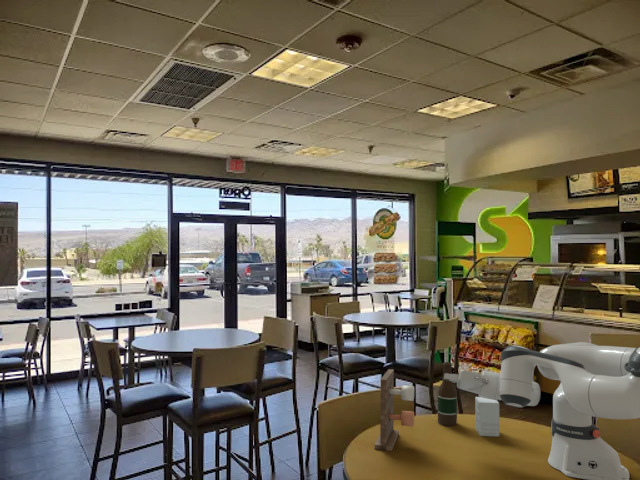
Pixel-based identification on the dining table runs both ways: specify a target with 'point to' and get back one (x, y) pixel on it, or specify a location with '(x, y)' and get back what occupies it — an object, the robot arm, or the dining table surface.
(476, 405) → the supplement box
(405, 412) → the terracotta plug
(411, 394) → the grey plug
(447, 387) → the beer bottle
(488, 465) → the dining table surface
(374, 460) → the dining table surface
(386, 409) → the plug panel
